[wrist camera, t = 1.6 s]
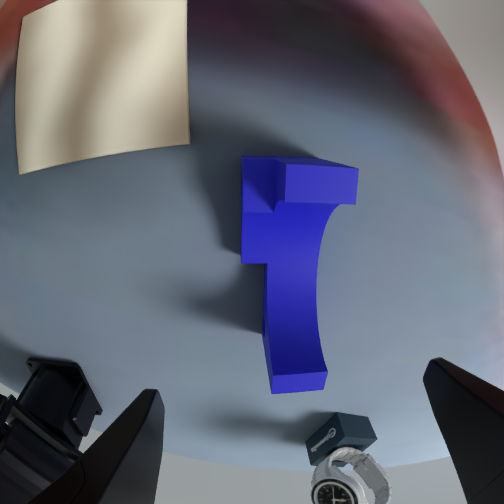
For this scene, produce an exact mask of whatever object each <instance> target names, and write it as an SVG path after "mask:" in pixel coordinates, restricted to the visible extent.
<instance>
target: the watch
mask: <svg viewBox="0 0 504 504" xmlns="http://www.w3.org/2000/svg"><path fill="white" fill-rule="evenodd" d="M376 440H377V437H376V435H375V433H374V430H373V428H372V426H371V423H370V421H369V419H368V417H364V416H357V415H351V414H345V413H339V412H336V414H335V415H333V416H332V417H331V418H330V419H329V420H328V421H327V422H326V423H325V424H324V425H323V426H322V427H321V428H320V429H319V430H318V431H317V432H316V433H315V434H314V435H313V436H312V437H310V438H309V439H308V440H307V441H306V442H305V443H306V447H307V452H308V456H309V460H310V464H311V465H313V466H317V467H316V469H315V471H314V474H313V478H312V479H313V480H312V481H311V485H312V490H311V500H312V503H313V504H369V503H368V501H367V500H366V498H365V495H364V490H363V488H362V486H361V485H360V484H359V482H358V481H356V480H355V479H354V478H352V477H350V476H348V475H345V474H344V473H342V472H341V471H340V470H339V469H338V468H337V467H344V466H345V465H346V464H348V463H350V464H351V465H353V466H354V468H353V469H354V470H355V471H356V472H357V473H358V474H359V475H360V477H361V478H362V479H363V480H364V482H365V483H366V484H367V486H368V487H369V488H372V490H373V492H374V494H375V497H376V499H375V504H389V503H390V500H391V495H392V490H391V485H390V484H389V480H388V479H389V477H388V475H387V474H386V473H385V471H384V470H383V468H382V467H381V466H380V465H379V464H378V463H377V461H376V460H375V459H374V458H373V457H372V456H371V455H369V454H365V453H362V452H363V451H364V450H365V449H366V448H368V447H369V446H370V445H371V444H372V443H374V442H375V441H376Z"/></svg>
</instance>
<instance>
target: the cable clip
mask: <svg viewBox="0 0 504 504" xmlns="http://www.w3.org/2000/svg"><path fill="white" fill-rule="evenodd" d="M357 182H358V168H354V167H350V166H347V165H343V164H339V163H335V162H331V161H327V160H323V159H317V158H300V157H276V156H242V172H241V264H257V263H265V273H264V298H263V321H262V338H263V344H264V350H265V357H266V363H267V369H268V375H269V382H270V388H271V394H280V393H293V392H305V391H315V390H323V389H324V385H325V381H326V377H327V373H328V370H327V367H326V364H325V361H324V358H323V353H322V349H321V344H320V338H319V331H318V322H317V308H316V279H317V265H318V256H319V250H320V244H321V240H322V236H323V232H324V229H325V226H326V223H327V221H328V219H329V217H330V215H331V213H332V212H333V210H334V209H335V208H336V207H337V206H338V205H340V204H355V205H356V194H357Z"/></svg>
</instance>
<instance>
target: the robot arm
mask: <svg viewBox="0 0 504 504" xmlns="http://www.w3.org/2000/svg"><path fill="white" fill-rule="evenodd" d="M26 364H27V366H28V367H29V369H30V371H31V373H32V376H31V378H30V379H29V381H28V382H27V384H26V386H25V387H24V389H23V390H22V392H21V394H20V395H19V397H18V399H17V400H16V398H15V397H14V396H13V395H12V394H11V395H10V396H8V397H6V396H3V395H1V394H0V504H154V501H155V495H156V488H157V482H158V476H159V470H160V464H161V457H162V450H163V431H164V414H165V409H164V404H163V402H162V399H161V396H160V393H159V391H158V390H157V389H145V390H143V391H142V392H141V393H140V394H139V395H138V397H137V398H136V399H135V400H134V401H133V402H132V403H131V404H130V405H129V406H128V407H127V408H126V409H125V410H124V411H123V412H122V414H121V415H120V416H119V417H118V418H117V419H116V420H115V421H114V422H113V423H112V424H111V425H110V426H109V427H108V428H107V429H106V430H105V431H104V432H103V433H102V435H101V436H100V437H99V438H98V439H97V440H96V441H95V442H94V443H93V444H92V445H91V446H90V447H89V448H88V449H87V450H86V451H85V452H84V453H82V452H81V451H79V450H78V449H79V446H80V443H81V440H82V437H83V436H84V437H86V436H87V435H88V432H89V430H90V427H91V424H92V422H93V419H94V416H95V415H101V414H102V408H101V407H100V405H99V403H98V401H97V399H96V397H95V395H94V393H93V391H92V390H91V388H90V386H89V384H88V382H87V380H86V377H85V375H84V373H83V371H82V369H81V367H80V366H79V365H77V364H72V363H63V362H55V361H47V360H40V359H33V358H28V360H27V361H26ZM423 383H424V386H425V389H426V392H427V395H428V398H429V401H430V404H431V407H432V410H433V413H434V416H435V419H436V421H437V423H438V426H439V428H440V431H441V433H442V435H443V438H444V440H445V443H446V445H447V448H448V450H449V453H450V455H451V458H452V460H453V463H454V466H455V468H456V471H457V474H458V477H459V480H460V483H461V485H462V488H463V491H464V494H465V497H466V500H467V504H504V391H503V390H501V389H499V388H497V387H495V386H494V385H492V384H490V383H488V382H486V381H484V380H482V379H480V378H479V377H477V376H475V375H473V374H471V373H469V372H467V371H465V370H464V369H462V368H460V367H458V366H456V365H454V364H452V363H451V362H449V361H447V360H445V359H443V358H441V357H439V358H435V359H432V360H430V361H429V363H428V366H427V368H426V371H425V373H424V376H423ZM5 422H7V423H8V425H7V424H6V423H5Z"/></svg>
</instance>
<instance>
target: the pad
mask: <svg viewBox="0 0 504 504" xmlns="http://www.w3.org/2000/svg"><path fill="white" fill-rule="evenodd" d="M15 121H16V143H17V156H18V166H19V175H21V174H24V173H28V172H32V171H36V170H40V169H44V168H48V167H52V166H56V165H60V164H65V163H69V162H74V161H79V160H84V159H89V158H94V157H99V156H105V155H111V154H117V153H123V152H129V151H136V150H143V149H150V148H158V147H166V146H175V145H185V144H191V142H190V124H189V103H188V74H187V0H58V1H56V2H54V3H51V4H49V5H47V6H45V7H43V8H41V9H38V10H36V11H34V12H32V13H30V14H28V15H26V16H25V17H23V22H22V28H21V34H20V41H19V50H18V59H17V72H16V93H15Z"/></svg>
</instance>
